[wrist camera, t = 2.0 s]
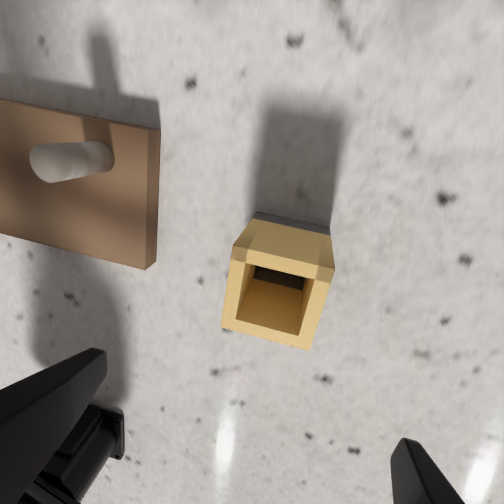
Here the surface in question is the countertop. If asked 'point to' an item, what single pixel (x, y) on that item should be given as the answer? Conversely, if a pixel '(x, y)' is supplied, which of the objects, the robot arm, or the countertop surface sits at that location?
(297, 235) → the loose sleeve
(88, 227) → the pin board
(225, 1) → the countertop surface
